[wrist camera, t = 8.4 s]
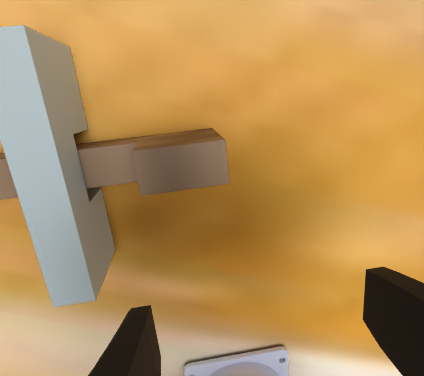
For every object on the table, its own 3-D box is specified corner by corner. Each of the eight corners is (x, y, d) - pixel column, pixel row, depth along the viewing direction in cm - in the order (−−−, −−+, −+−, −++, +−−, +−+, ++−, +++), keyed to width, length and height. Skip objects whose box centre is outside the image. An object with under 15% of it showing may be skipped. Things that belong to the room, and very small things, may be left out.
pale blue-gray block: (115, 250, 19) (95, 300, 14) (83, 254, 19) (53, 307, 14) (69, 47, 16) (23, 25, 11) (29, 50, 15) (-35, 30, 11)
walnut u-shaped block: (211, 128, 18) (225, 139, 13) (215, 161, 18) (229, 183, 14) (-76, 162, 16) (-179, 189, 12) (-63, 196, 17) (-155, 235, 12)
